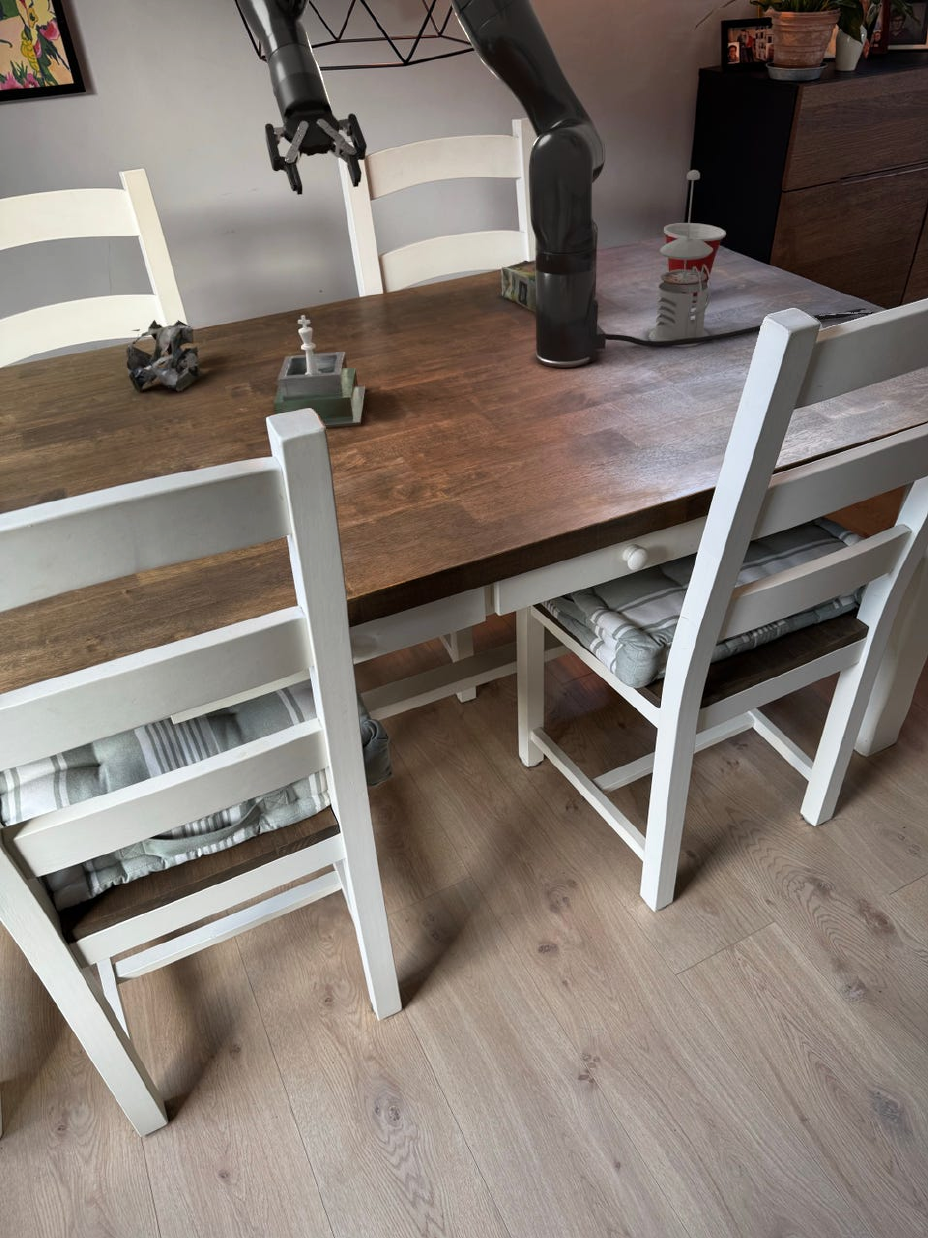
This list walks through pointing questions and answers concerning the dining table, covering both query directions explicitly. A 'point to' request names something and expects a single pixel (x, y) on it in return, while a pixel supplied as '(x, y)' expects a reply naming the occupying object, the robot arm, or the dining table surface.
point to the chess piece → (308, 345)
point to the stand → (321, 389)
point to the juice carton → (520, 284)
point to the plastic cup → (696, 231)
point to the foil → (165, 358)
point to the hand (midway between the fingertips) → (328, 187)
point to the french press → (683, 289)
